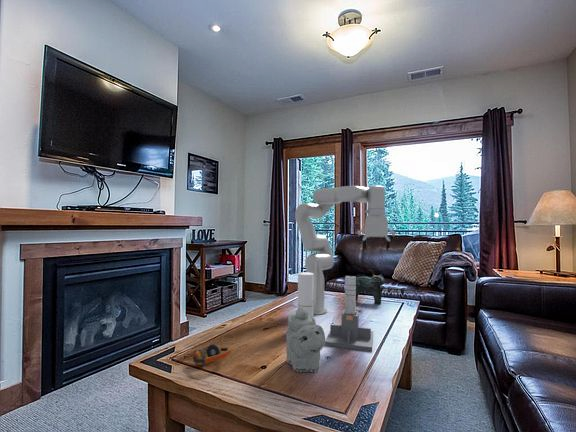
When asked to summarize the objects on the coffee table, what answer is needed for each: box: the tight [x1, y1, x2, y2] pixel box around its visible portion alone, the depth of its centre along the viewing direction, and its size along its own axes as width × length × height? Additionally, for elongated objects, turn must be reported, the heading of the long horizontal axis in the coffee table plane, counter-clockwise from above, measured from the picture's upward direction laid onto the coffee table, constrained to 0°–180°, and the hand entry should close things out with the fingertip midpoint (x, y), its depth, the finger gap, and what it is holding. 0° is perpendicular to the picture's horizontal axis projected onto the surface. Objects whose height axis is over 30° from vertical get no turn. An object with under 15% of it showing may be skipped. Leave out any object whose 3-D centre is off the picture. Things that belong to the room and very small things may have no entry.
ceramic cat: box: [354, 269, 385, 305], centre depth 190 cm, size 20×6×20 cm, turn 58°
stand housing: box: [324, 309, 374, 352], centre depth 128 cm, size 18×18×11 cm
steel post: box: [344, 275, 357, 315], centre depth 128 cm, size 4×4×18 cm
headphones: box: [174, 343, 232, 366], centre depth 107 cm, size 17×5×20 cm
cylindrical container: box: [297, 271, 314, 318], centre depth 141 cm, size 7×7×25 cm
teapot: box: [285, 306, 326, 373], centre depth 103 cm, size 16×15×19 cm
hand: (376, 249), depth 143 cm, fingers open, 9 cm apart
